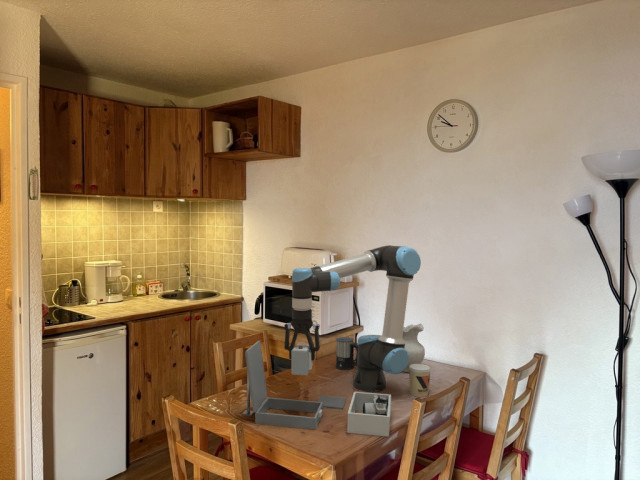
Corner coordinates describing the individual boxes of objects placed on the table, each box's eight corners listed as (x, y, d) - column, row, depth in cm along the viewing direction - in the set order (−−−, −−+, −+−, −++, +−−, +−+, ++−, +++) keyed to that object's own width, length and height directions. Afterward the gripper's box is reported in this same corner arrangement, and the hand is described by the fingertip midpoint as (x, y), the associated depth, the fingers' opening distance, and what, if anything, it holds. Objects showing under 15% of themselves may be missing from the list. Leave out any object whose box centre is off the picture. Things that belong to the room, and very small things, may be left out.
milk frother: (333, 369, 239) (334, 340, 238) (339, 360, 254) (340, 333, 254) (361, 372, 236) (362, 342, 235) (365, 362, 251) (366, 335, 250)
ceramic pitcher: (377, 372, 239) (377, 324, 236) (387, 359, 257) (387, 314, 254) (420, 378, 231) (421, 329, 228) (427, 364, 248) (428, 318, 246)
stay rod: (254, 412, 184) (255, 350, 183) (251, 416, 180) (252, 353, 179) (245, 411, 184) (246, 349, 183) (242, 415, 181) (243, 352, 180)
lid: (260, 340, 188) (256, 340, 189) (247, 351, 173) (243, 351, 173) (267, 396, 189) (264, 396, 189) (255, 412, 173) (251, 412, 174)
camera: (361, 413, 185) (362, 388, 185) (384, 413, 185) (385, 388, 185) (364, 430, 170) (365, 403, 169) (389, 431, 170) (390, 404, 169)
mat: (346, 399, 199) (346, 397, 199) (342, 409, 188) (342, 407, 188) (320, 396, 201) (320, 395, 201) (315, 406, 190) (315, 405, 190)
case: (324, 412, 185) (324, 402, 185) (317, 429, 170) (317, 418, 169) (267, 407, 189) (267, 397, 189) (255, 423, 174) (255, 412, 173)
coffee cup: (417, 399, 201) (418, 371, 200) (403, 391, 209) (404, 365, 209) (434, 395, 205) (435, 368, 205) (420, 388, 214) (421, 362, 213)
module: (312, 366, 187) (312, 341, 186) (307, 375, 177) (307, 348, 176) (297, 365, 188) (297, 340, 187) (291, 374, 178) (291, 347, 177)
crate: (390, 412, 186) (391, 394, 186) (388, 436, 165) (389, 417, 165) (353, 408, 189) (354, 391, 189) (347, 432, 168) (347, 413, 167)
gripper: (328, 307, 183) (327, 366, 184) (280, 305, 186) (280, 363, 188) (325, 311, 176) (324, 372, 177) (275, 309, 179) (275, 369, 180)
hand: (302, 367), depth 182 cm, fingers closed on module, 6 cm apart
